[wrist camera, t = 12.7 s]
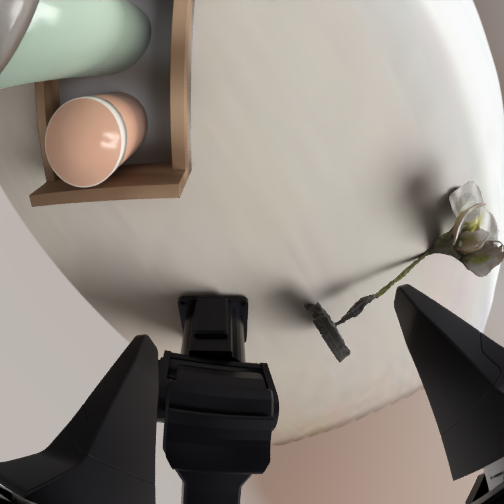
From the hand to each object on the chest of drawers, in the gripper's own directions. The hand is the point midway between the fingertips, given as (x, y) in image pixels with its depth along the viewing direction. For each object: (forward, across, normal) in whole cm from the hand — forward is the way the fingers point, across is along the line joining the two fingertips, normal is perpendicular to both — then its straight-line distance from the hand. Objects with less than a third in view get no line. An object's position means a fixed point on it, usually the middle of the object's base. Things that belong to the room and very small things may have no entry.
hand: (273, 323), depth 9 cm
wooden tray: (+13, +7, -10) cm, 18 cm away
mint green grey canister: (+12, +6, -13) cm, 19 cm away
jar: (+12, +8, -7) cm, 16 cm away
